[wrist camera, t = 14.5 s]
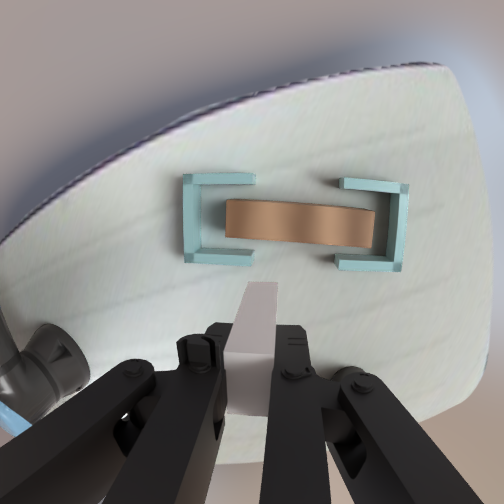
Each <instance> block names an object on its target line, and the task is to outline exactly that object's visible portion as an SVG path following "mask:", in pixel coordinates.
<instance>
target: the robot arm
mask: <svg viewBox="0 0 504 504" xmlns="http://www.w3.org/2000/svg"><path fill="white" fill-rule="evenodd" d="M277 292H278V283H276V282H248V284H247V287H246V290H245V292H244V295H243V298H242V301H241V304H240V307H239V309H238V312H237V315H236V318H235V321H234V323H218V322H215V323H214V324H212V325H211V326H209V327H208V328H207V330H206V332H205V334H192V335H187V336H184V337H182V338H180V339H179V340H178V341H177V342H176V343H177V350H178V357H179V366H178V368H177V369H176V370H170V371H154V367H153V365H152V364H151V363H150V362H148V361H146V360H142V359H130V360H126V361H123V362H121V363H119V364H118V365H117V366H115V367H114V368H112V369H111V370H110V371H108V372H107V373H105V374H104V375H103V376H101V377H100V378H99V379H97V380H96V381H94V382H93V383H92V384H90V385H89V386H87V387H86V388H85V389H83V388H84V387H85V386H86V385H87V384H88V382H89V380H90V370H89V366H88V363H87V361H86V358H85V356H84V355H83V353H82V351H81V350H80V348H79V347H78V345H77V344H76V343H75V341H74V340H73V339H72V338H71V337H70V336H69V335H68V334H67V333H66V332H65V331H63V330H62V329H61V328H59V327H57V326H55V325H53V324H45V325H43V326H42V327H40V328H39V329H37V330H36V332H35V333H34V335H33V336H32V338H31V339H30V341H29V342H28V344H27V345H26V347H25V349H24V350H23V351H21V352H20V353H19V351H18V348H17V346H16V344H15V342H14V340H13V338H12V335H11V333H10V331H9V328H8V326H7V324H6V321H5V319H4V316H3V313H2V311H1V306H0V426H1V427H2V428H3V429H4V430H5V431H6V432H8V433H9V434H11V435H12V436H14V437H15V438H14V439H12V440H11V441H10V442H8V443H6V444H5V445H3V446H2V447H0V504H98V503H99V502H100V501H101V500H102V499H103V498H104V497H105V496H106V497H105V499H104V501H103V502H102V504H204V503H205V500H206V496H207V492H208V488H209V484H210V481H211V476H212V473H213V469H214V465H215V462H216V458H217V454H218V450H219V446H220V442H221V438H222V434H223V430H224V426H225V416H224V414H225V410H226V406H227V414H237V415H249V416H266V417H268V423H267V434H266V445H265V455H264V464H263V474H262V483H261V492H260V500H259V504H331V495H330V484H329V473H328V463H327V454H326V444H325V441H326V443H327V446H328V449H329V451H330V453H331V455H332V457H333V459H334V461H335V464H336V466H337V468H338V470H339V472H340V474H341V476H342V478H343V481H344V483H345V485H346V487H347V489H348V491H349V493H350V495H351V497H352V499H353V501H354V503H355V504H484V503H483V502H482V501H481V500H480V498H479V497H478V496H477V495H476V493H475V492H474V491H473V490H472V488H471V487H470V486H469V485H468V483H467V482H466V481H465V480H464V478H463V477H462V476H461V475H460V473H459V472H458V471H457V470H456V469H455V467H454V466H453V465H452V464H451V462H450V461H449V460H448V459H447V458H446V456H445V455H444V454H443V453H442V452H441V450H440V449H439V448H438V447H437V445H436V444H435V443H434V442H433V441H432V440H431V438H430V437H429V436H428V435H427V434H426V432H425V431H424V430H423V429H422V427H421V426H420V425H419V424H418V423H417V421H416V420H415V419H414V418H413V417H412V415H411V414H410V413H409V412H408V411H407V410H406V408H405V407H404V406H403V405H402V404H401V402H400V401H399V400H398V399H397V398H396V397H395V395H394V394H393V393H392V392H391V391H390V390H389V388H388V387H387V386H386V385H385V384H384V383H383V381H382V380H381V379H379V378H378V377H377V376H375V375H373V374H370V373H365V372H355V373H351V374H348V375H346V376H345V377H344V378H343V379H342V381H341V382H336V381H330V380H327V379H324V378H322V377H319V376H318V375H317V374H316V372H315V370H314V368H313V367H312V366H311V362H310V355H309V348H308V341H307V335H306V331H305V330H304V329H303V328H302V327H301V326H300V325H276V317H277ZM82 389H83V390H82ZM80 390H82V391H80ZM78 391H80V392H79V393H78V394H76V395H75V396H73V397H72V398H71V399H69V400H68V401H66V402H65V403H63V404H62V405H61V406H59V407H58V408H56V409H55V410H54V411H52V412H51V413H49V414H48V415H46V416H45V417H44V415H45V414H46V413H47V412H48V411H49V410H50V409H51V408H52V407H53V406H54V405H55V404H56V403H57V402H58V401H59V400H60V399H61V398H63V397H66V396H68V395H70V394H73V393H75V392H78ZM126 413H127V414H128V415H127V416H126V417H125V418H123V419H121V418H122V417H123V416H124V415H125V414H126ZM43 417H44V418H43Z"/></svg>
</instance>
